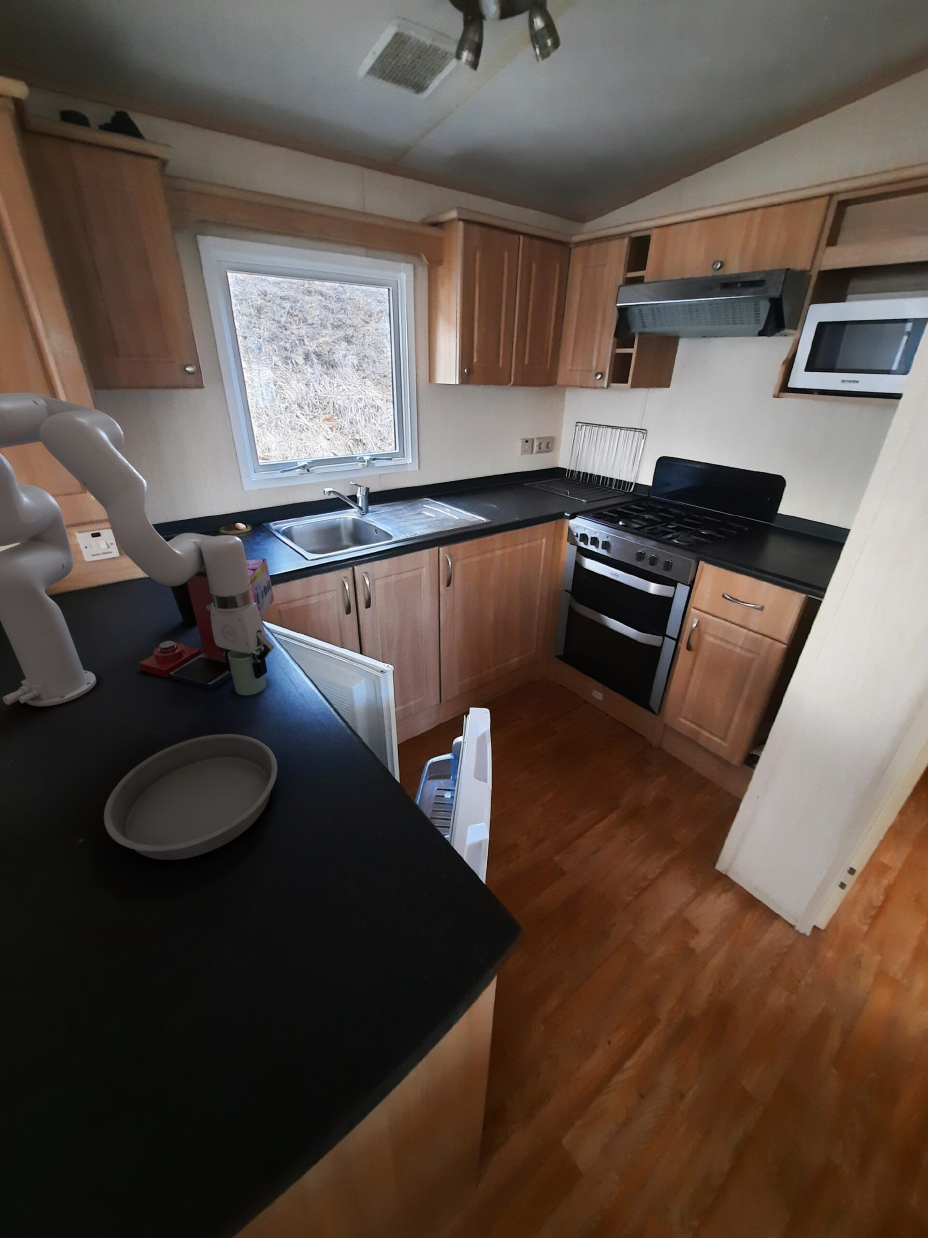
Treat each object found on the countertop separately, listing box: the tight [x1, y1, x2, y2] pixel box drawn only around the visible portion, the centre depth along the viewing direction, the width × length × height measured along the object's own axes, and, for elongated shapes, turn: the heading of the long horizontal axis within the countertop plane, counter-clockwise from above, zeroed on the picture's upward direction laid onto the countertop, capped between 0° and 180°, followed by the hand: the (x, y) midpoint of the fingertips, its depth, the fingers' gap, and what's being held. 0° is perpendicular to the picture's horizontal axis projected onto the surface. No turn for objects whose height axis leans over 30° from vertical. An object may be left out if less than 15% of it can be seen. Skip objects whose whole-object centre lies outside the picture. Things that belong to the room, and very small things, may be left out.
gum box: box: [246, 558, 275, 618], centre depth 141 cm, size 24×8×14 cm, turn 2°
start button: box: [158, 640, 176, 654], centre depth 119 cm, size 3×3×2 cm
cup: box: [228, 649, 267, 696], centre depth 110 cm, size 6×6×9 cm
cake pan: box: [103, 733, 278, 861], centre depth 81 cm, size 25×25×4 cm
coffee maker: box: [169, 569, 232, 690], centre depth 114 cm, size 15×12×23 cm
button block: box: [138, 642, 202, 678], centre depth 120 cm, size 10×8×4 cm
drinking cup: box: [169, 582, 197, 626], centre depth 136 cm, size 8×8×20 cm
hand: (247, 671), depth 111 cm, fingers closed on cup, 6 cm apart
